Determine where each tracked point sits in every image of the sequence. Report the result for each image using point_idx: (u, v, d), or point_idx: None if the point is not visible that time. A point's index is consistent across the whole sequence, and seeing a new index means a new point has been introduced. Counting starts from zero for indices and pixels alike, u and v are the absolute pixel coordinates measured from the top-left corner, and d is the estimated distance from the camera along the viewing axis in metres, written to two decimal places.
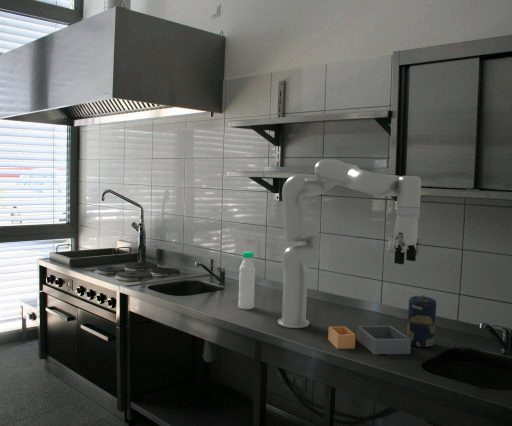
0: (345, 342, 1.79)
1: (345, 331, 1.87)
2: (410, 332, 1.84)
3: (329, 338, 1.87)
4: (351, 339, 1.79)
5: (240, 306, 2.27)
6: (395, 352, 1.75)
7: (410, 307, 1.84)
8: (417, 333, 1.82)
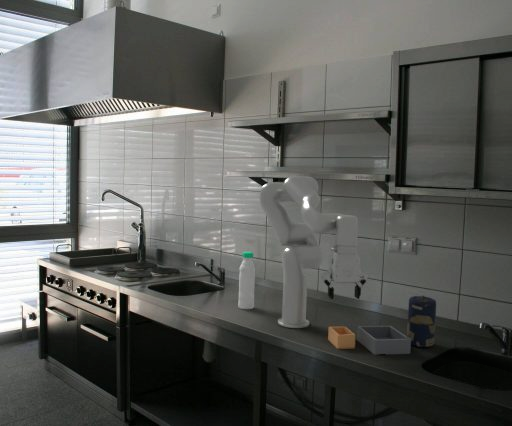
0: (345, 342, 1.79)
1: (345, 331, 1.87)
2: (410, 332, 1.84)
3: (329, 338, 1.87)
4: (351, 339, 1.79)
5: (240, 306, 2.27)
6: (395, 352, 1.75)
7: (410, 307, 1.84)
8: (417, 333, 1.82)
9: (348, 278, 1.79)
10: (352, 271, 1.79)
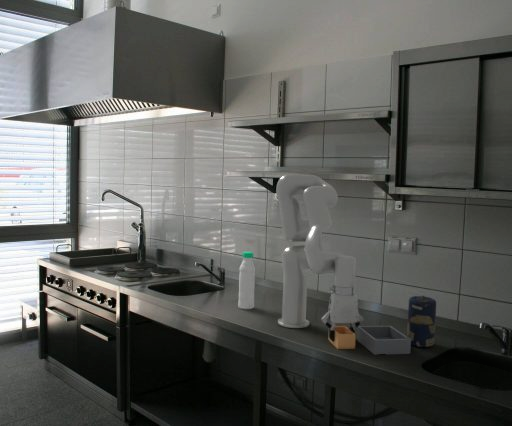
0: (345, 341, 1.79)
1: (345, 331, 1.87)
2: (410, 332, 1.84)
3: (329, 338, 1.87)
4: (351, 339, 1.79)
5: (240, 306, 2.27)
6: (395, 352, 1.75)
7: (410, 307, 1.84)
8: (417, 333, 1.82)
9: (346, 319, 1.81)
10: (350, 312, 1.81)
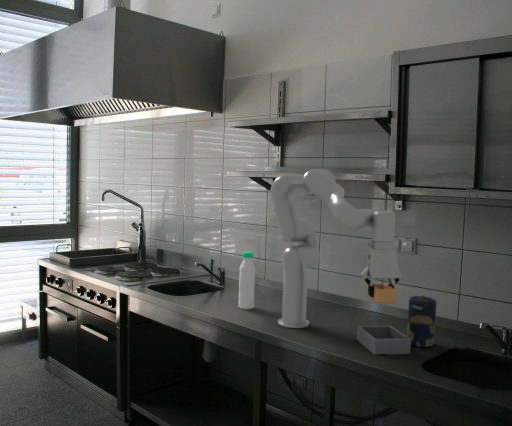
0: (385, 296, 1.76)
1: (384, 288, 1.84)
2: (410, 332, 1.84)
3: (368, 295, 1.84)
4: (391, 294, 1.77)
5: (240, 306, 2.27)
6: (395, 352, 1.75)
7: (410, 307, 1.84)
8: (417, 333, 1.82)
9: (385, 274, 1.78)
10: (389, 267, 1.78)
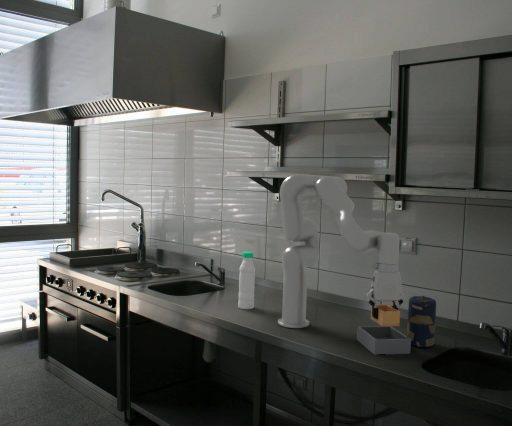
0: (389, 319, 1.77)
1: (388, 309, 1.85)
2: (410, 332, 1.84)
3: (372, 316, 1.85)
4: (396, 316, 1.77)
5: (240, 306, 2.27)
6: (395, 352, 1.75)
7: (410, 307, 1.84)
8: (417, 333, 1.82)
9: (390, 296, 1.79)
10: (394, 289, 1.79)
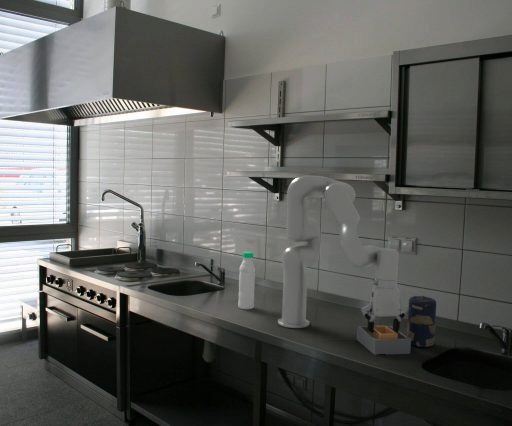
0: None
1: (386, 330, 1.85)
2: (410, 332, 1.84)
3: None
4: (393, 338, 1.78)
5: (240, 306, 2.27)
6: (395, 352, 1.75)
7: (410, 307, 1.84)
8: (417, 333, 1.82)
9: (388, 312, 1.79)
10: (392, 305, 1.79)
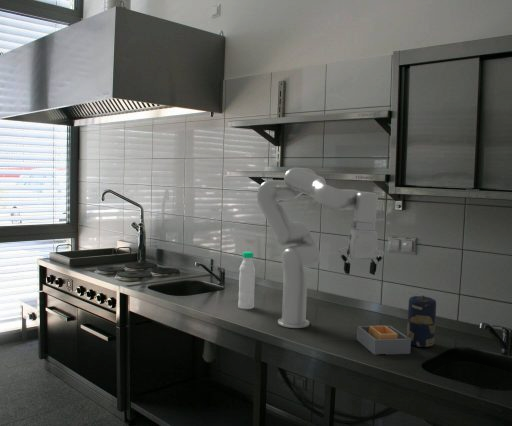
0: None
1: (386, 330, 1.85)
2: (410, 332, 1.84)
3: None
4: (393, 338, 1.78)
5: (240, 306, 2.27)
6: (395, 352, 1.75)
7: (410, 307, 1.84)
8: (417, 333, 1.82)
9: (365, 254, 1.81)
10: (369, 247, 1.82)
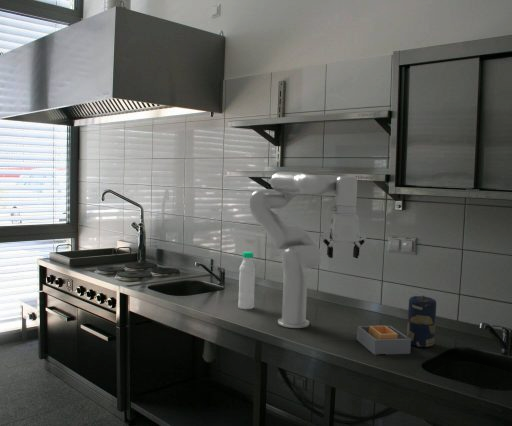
0: None
1: (386, 330, 1.85)
2: (410, 332, 1.84)
3: None
4: (393, 338, 1.78)
5: (240, 306, 2.27)
6: (395, 352, 1.75)
7: (410, 307, 1.84)
8: (417, 333, 1.82)
9: (347, 238, 1.84)
10: (351, 231, 1.84)
